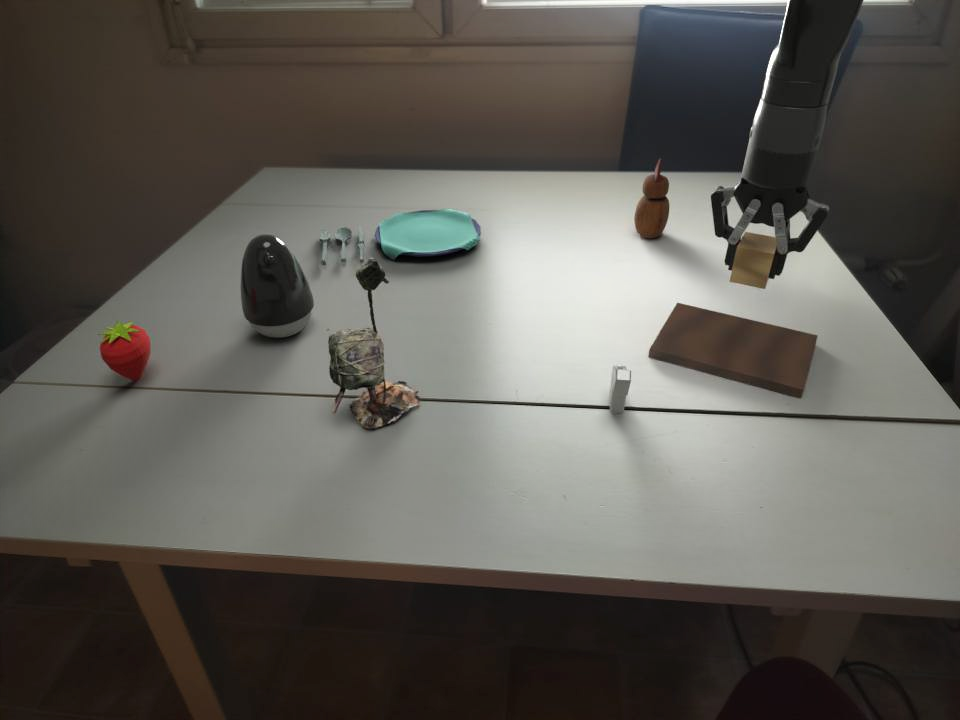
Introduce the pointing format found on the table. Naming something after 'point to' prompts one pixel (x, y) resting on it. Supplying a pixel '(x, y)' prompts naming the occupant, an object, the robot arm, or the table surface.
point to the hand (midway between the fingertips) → (751, 271)
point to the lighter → (619, 388)
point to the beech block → (753, 260)
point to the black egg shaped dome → (274, 288)
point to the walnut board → (736, 349)
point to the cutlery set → (416, 234)
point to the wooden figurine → (653, 205)
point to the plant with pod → (367, 364)
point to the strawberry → (126, 350)
